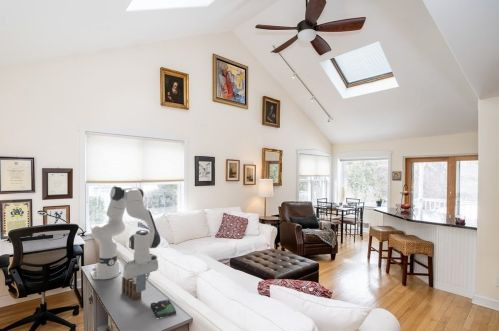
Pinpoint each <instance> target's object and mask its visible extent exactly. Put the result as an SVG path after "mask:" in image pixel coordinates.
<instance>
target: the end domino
mask: <svg viewBox="0 0 499 331" xmlns="http://www.w3.org/2000/svg"><path fill="white" fill-rule="evenodd" d="M146 275H147V274H143V275H139V276H136V278H135V279H136V280H138V283H137V284H136V292H137V293H138V292H141V293H142V292H143V291H146V290H147V289H146V288H147V287H146V286H147V285H146V283H147V281H146Z"/></svg>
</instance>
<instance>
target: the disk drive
mask: <svg viewBox="0 0 499 331" xmlns="http://www.w3.org/2000/svg"><path fill="white" fill-rule="evenodd" d="M150 309H151V311H152V312H154V313H153V314H155V315H154V316H156V317H155V318H159V319H161V318H160V317H163V318H167V317H170V316H173V315H176V314H177V310H176V308H175V306H174V304H172V302H171V301H170V299H165V300H164V299H163V300H159V301H157V302H151V303H150Z"/></svg>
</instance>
